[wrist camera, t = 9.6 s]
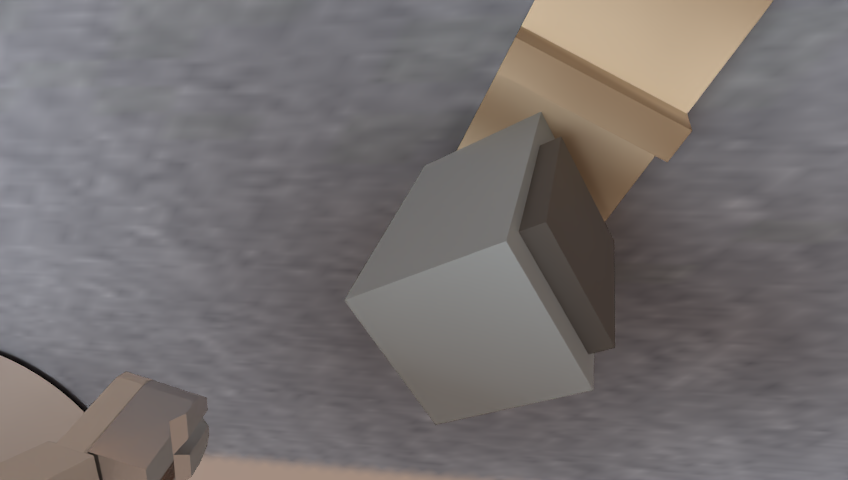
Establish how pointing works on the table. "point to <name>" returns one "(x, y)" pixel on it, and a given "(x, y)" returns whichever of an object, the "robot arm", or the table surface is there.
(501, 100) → the rail
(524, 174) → the grey stepped block
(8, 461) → the robot arm
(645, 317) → the table surface
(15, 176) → the table surface
